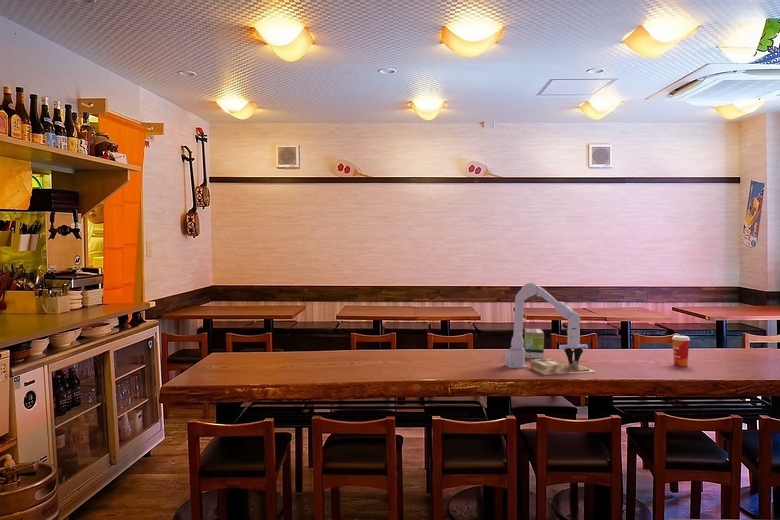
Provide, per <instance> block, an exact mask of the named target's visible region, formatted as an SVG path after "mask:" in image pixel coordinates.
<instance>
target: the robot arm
mask: <svg viewBox="0 0 780 520" xmlns="http://www.w3.org/2000/svg"><path fill="white" fill-rule="evenodd" d="M532 296H533V297H534V296H536V297H542V298H543V299H544V300H545V301H546V302H548V303H550V304H551V305H552V306H553V307H554V311H556V313H557V314H558V315H560V316H561V317H562V318H564V319H567V343H566V344H559V345H558V348H559V350H560V351H561V350H563V351H564V353H565V355H566V358H567V360H568V364H569V363H570V364H572V359H573V358H574V359H573V360H576V361H578V362H579V361H580V357H581V356H582V355H583V353H584V349H588V348H589V345H588V344H585V343H584V344H581V343H580V341H581V340H580V338H581V337H580V336H581V335H580V334H581V332H580V331H581V330H580V323H581V317H580V315H579V313H577V312H576V311H575V309H572V308H571V307H570V306H568V305H567V304H568V303H567V302H564V301H558V300H557V299H556V298H555V297H553V295H551V294H550V293H549V292H547V290H545V288H543V287H541V286H539V285H537V284H536V283H534V282H532V281H531V282H527V283H526V284H524V285H523V286H522V287H521V289H520V290H519V291H518V292H517V293H516V295H515V298H514V299H515V301H514V316H513V317H514V319H513V322H514V323H513V335H512V338H511V341H510V346H511V347H509V349H505V353H504V355H505V356H504V357H505V359H504V366H506V367H508V368H510V369H517V368H518V369H520V368H521V369H522V368H525V369H526V368H529V367H528V365H527V364H525V361H526V360H525V359H526V357H525V348H524V336H523V330H524V329H523V326H524V311H525V310H524V307H525V306H524V305H525V301H526V300H527V299H529V298H530V297H532ZM588 350H589V349H588ZM573 356H574V357H573Z"/></svg>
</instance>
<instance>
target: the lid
mask: <svg viewBox="0 0 780 520" xmlns="http://www.w3.org/2000/svg"><path fill="white" fill-rule="evenodd" d="M566 365H567V371H569V372H576V371H590V370H591V369H590V368H588V369H587V367H585V366H583V365H580V363H579V362H578V361H576V360H574V359H573V358H572V364H570V363H569V362H568V364H566ZM579 365H580V366H579ZM582 366H583V367H582ZM584 367H585V368H584ZM589 369H590V370H589Z"/></svg>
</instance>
